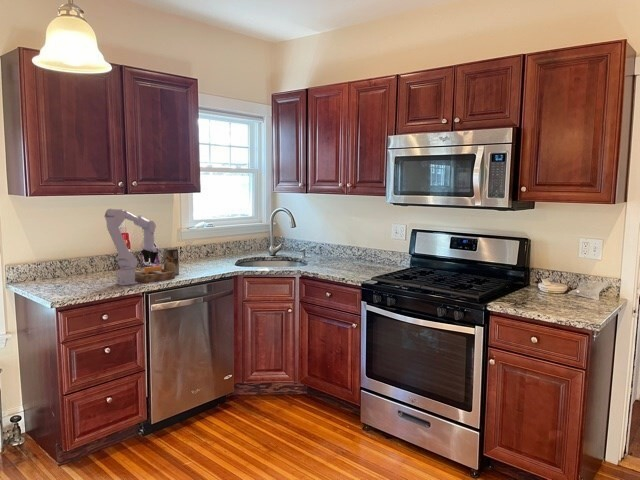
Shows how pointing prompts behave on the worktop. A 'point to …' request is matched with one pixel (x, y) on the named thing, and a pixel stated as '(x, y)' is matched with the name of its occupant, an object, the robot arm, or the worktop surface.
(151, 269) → the orange arch block
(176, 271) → the coffee box
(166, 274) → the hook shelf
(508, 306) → the worktop surface
